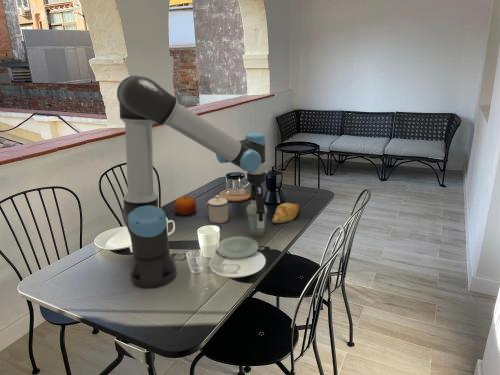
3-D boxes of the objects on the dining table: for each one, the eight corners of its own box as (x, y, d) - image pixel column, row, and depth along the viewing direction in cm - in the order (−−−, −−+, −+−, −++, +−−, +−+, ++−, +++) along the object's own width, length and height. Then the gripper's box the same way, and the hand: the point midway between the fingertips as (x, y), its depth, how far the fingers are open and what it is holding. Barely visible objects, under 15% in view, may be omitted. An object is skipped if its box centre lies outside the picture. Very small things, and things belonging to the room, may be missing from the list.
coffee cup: (249, 227, 159) (248, 202, 156) (268, 229, 158) (268, 203, 154) (245, 236, 151) (244, 209, 148) (265, 238, 150) (265, 210, 146)
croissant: (279, 233, 161) (286, 220, 157) (262, 219, 165) (268, 206, 160) (302, 216, 177) (309, 204, 173) (286, 204, 181) (292, 192, 176)
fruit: (170, 214, 175) (168, 198, 173) (185, 207, 184) (184, 192, 181) (186, 219, 170) (185, 203, 167) (201, 211, 178) (200, 196, 175)
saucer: (217, 262, 132) (217, 257, 132) (215, 241, 147) (215, 238, 147) (261, 257, 135) (261, 253, 134) (254, 238, 150) (254, 234, 149)
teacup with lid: (232, 218, 169) (231, 194, 166) (219, 225, 162) (218, 200, 159) (213, 213, 176) (212, 190, 172) (200, 219, 169) (198, 195, 165)
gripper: (272, 180, 135) (272, 232, 142) (260, 163, 158) (261, 208, 165) (251, 182, 134) (253, 234, 141) (242, 164, 157) (244, 210, 164)
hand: (257, 220), depth 153 cm, fingers open, 13 cm apart
